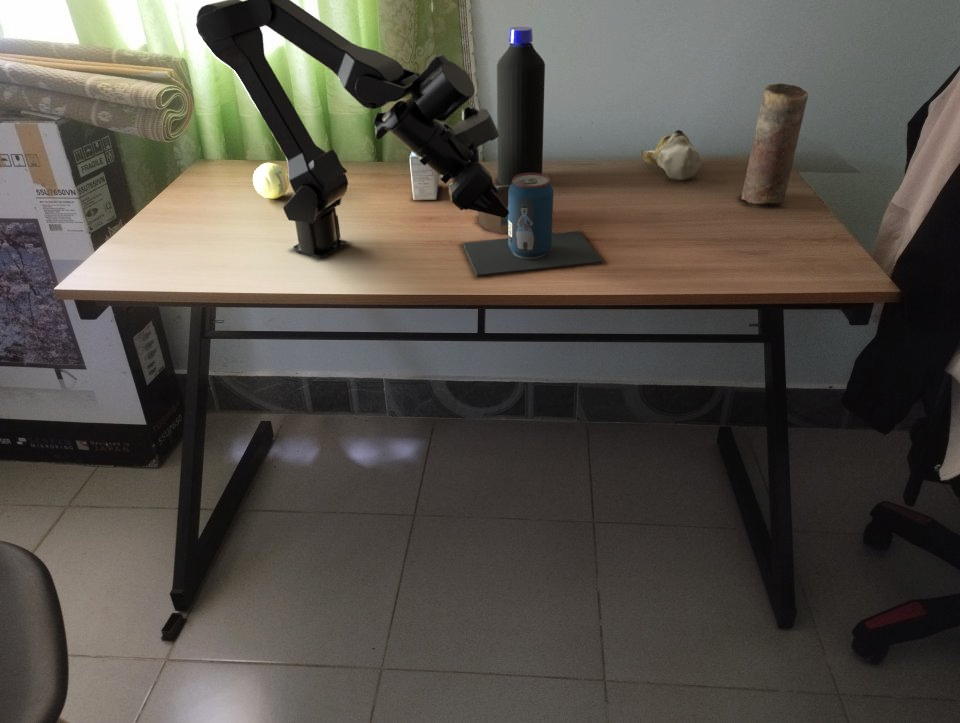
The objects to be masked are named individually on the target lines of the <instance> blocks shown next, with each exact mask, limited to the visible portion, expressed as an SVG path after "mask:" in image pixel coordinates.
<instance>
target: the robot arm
mask: <svg viewBox="0 0 960 723" xmlns="http://www.w3.org/2000/svg"><path fill="white" fill-rule="evenodd" d="M262 27H267V28H269V29H270V30H272V31H273V32H275V33H277V35H279V36H281V37H282V38H284V39H285V40H286V41H288V42H289V43H291V44H292V45H294V46H295V47H296V48H297V49H299V50H301V51H302V52H304V53H305V54H306V55H307V56H310V57H311V58H312V59H314V60H315V61H317V62H318V63H319V64H321V65H322V66H324V67H326V68H327V69H328V70H330V71H331V72H332V73H333V75H335V76H336V77H337V78H338V79H339V81H340V83H341V86H342V87H343V89H344V90H345V91H346V92H347V93H348V94H349V95H350V96H351V97H352V98H353V99H354V100H355V101H356V102H358V103H359V104H360V105H361V106H362V107H364V108H366V109H368V110H376V109H380V108H382V107H384V106H386V105H389V104H390V103H394V102H395V103H394V104H393V105H392V106H391V107H390V108H388V110H387V111H385V112H376V114H375V116H374V119H373V124H374V128H375V139H376V140H379V141H380V140H381V139H382V138H384V137H385V135H387V133H390V134H391V135H393V137H394V138H396V139H397V140H398V141H400V142H401V143H402V144H403V145H404V146H405V147H406V148H407V149H408V150H409V151H410V152H413V153H415V154H416V155H417V156H418V158H419V161H420V162H421V163H422V164H423V165H424V166H425V165H426V164H427V165H428V166H430V167H431V168H432V169H433V170H434V171H435V172H436V173H438V177H439V180H440V181H442V183H444V184H445V185H446V184H447V183H448V182H449V181H450V180H452V181H451V182H450V183H449V184H448V195H449V199H450V200H451V203H452V204H453V205H454V206H455V207H457V208H458V209H459V210H460V211H463V210H464V211H467V210H470V211H475V212H478V211H479V212H483V213H487V214H491V215H495V216H499V217H503V218H505V217H506V216H507V215H508V214H509V211H508V210H507V208H506V207H505V206H504V204H503V203H502V202H501V200H500V199H499V198H498V197H497V195H496V193H497V192H498V190H497V188H496V187H495V186H496V185H495V184H494V182H493V181H494V180H493V177H492V174H491V173H490V171H489V170H487V168H486V167H485V166H484V165H482V164H481V162H480V161H479V150H478V147H480V146H482V145H484V144H486V143H487V142H489V141H494V140H497V137H498V136H499V132H498V130H497V127H496V126H497V125H496V124H495V121H494V119H493V118H492V116H491V114H490V112H489V111H488V109H486V108H483V107H482V108H480V109H478V108H476V107H475V106H473V105H472V104H468V105H466V106H465V107H463V108H462V109H461V119H459V120H458V123H456V124H455V125H453V126H451V125H450V124H449V123H447V122H444V121H447V120H448V119H449V117H451V116H452V115H454V113H456V111H457V110H459V109H460V108H461V107H462V106H463V105H465V103H467V102H468V101H469V100H470V99H471V98H472V97H473V96H474V95H475V85H474V82H473V81H472V78H471V77H470V75H469V74H468V72H467V71H466V70H465V69H462V68H461V67H460V66H459V65H457V63H455V62H453V61H450V60H448V59H447V57H446V55H445V54H442V53H441V54H439V55H437V56H435V57H434V58H433V59H432V60H431V61H430V63H429V64H428V66H427V67H426V69H424V70H423V71H422V72H421V73H420V72H417V71H414V70H411V69H408V68H406V67H405V68H404V67H403V66H402V64H401V63H400V62H399V61H397V59H394V58H392V57H390V56H388V55H386V54H384V53H381V52H379V51H377V50H375V49H370V48H367V47H362V46H360V45H358V44H355V43H352V42H351V41H350V40H348V39H347V38H345V37H344V36H342V35H341V34H340V33H338V32H336V30H334V29H333V28H331V27H330V26H328V25H327V24H325V23H324V22H322V21H321V20H319V19H318V18H316V17H315V16H313V15H312V14H311V13H310V12H308V11H307V10H305V9H304V8H302V7H301V6H300V5H297V4H296V3H295V2H294V1H292V0H222V1H217V2H212V3H207V4H205V5H203V6H201V7H200V8H199V9H198V12H197V14H196V23H195V29H196V32H197V33H198V36H199V38H200V39H201V40H202V42H203V43H204V44H205V46H206V47H207V48H208V49H209V51H210V52H211V54H212V55H213V56H214V57H215V58H216V59H217V60H219V61H220V62H221V63H223V64H224V65H226V66H227V67H229V68H230V69H232V71H234V73H235V74H236V76H237V78H238V79H239V81H240V83H241V84H242V86H243V87H244V89H245V91H246V92H247V94H248V96H249V98H250V100H251V101H252V103H253V104H254V106H255V108H256V110H257V111H258V113H259V115H260V116H261V118H262V119H263V122H264V123H265V125H266V127H267V128H268V130H269V131H270V133H271V135H272V137H273V139H274V140H275V142H276V144H277V145H278V147H279V149H280V151H281V152H282V154H283V155H284V158H285V159H286V162H287V171H288V173H287V175H288V178H289V185H290V187H291V189H292V191H293V193H294V194H293V195H292V196H291V198H290V199H289V200H288V201H287V202H286V203H285V205H284V206H283V207H282V210H283V212H284V214H285V217H286V218H287V220H288V221H291V222H294V225H295V230H296V235H297V242H298V243H297V244H296V245H294V246H292V250H293V251H294V252H298V253H302V254H305V255H307V256H311V257H315V258H318V259H322V258H324V257H326V256H328V255H331V254H332V253H334V252H336V251H338V250H340V249H341V248H343V247H346V246H347V245H348V242H347V241H346V240H343V239H341V231H340V222H339V215H338V214H337V210H336V207H339V206H340V205H341V204H342V200H343V197H344V196H345V195H346V193H347V191H348V185H349V180H348V178H347V175H346V174H347V173H348V170H347V169H346V168H345V167H344V166H343V165H342V163H341V161H340V159H339V156H338V155H337V153H336V152H335V150H334V149H330V150H328V151H325V150H323V148H320V147H319V146H318V145H317V144H316V143H315V142H314V140H313V138H312V137H311V136H312V135H310V133H309V131H308V129H307V128H306V126H305V123H304V122H303V121H302V119H301V117H300V115H299V114H298V112H297V110H296V109H295V107H294V105H293V103H292V102H291V100H290V98H289V96H288V94H287V93H286V91H285V89H284V87H283V86H282V84H281V83H280V81H279V78H278V77H277V75H276V73H275V71H274V70H273V69H272V68H273V67H272V66H271V65H270V63H269V61H268V60H267V57H266V55H265V44H264V34H263V31H262V29H261V28H262ZM409 95H411V96H410V97H409V98H407V99H406V100H401V99H403V98H405V97H406V96H409Z"/></svg>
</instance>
